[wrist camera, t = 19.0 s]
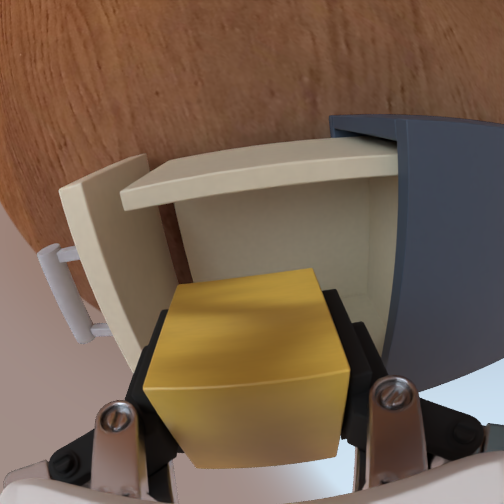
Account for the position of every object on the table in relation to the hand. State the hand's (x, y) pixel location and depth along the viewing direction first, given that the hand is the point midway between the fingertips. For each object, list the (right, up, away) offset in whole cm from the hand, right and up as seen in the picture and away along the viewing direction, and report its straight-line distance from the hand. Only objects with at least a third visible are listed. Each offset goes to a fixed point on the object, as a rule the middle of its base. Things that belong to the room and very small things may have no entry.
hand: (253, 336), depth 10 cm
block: (0, 0, 0) cm, 0 cm away
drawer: (-2, +4, +8) cm, 9 cm away
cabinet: (+13, +6, +9) cm, 17 cm away
